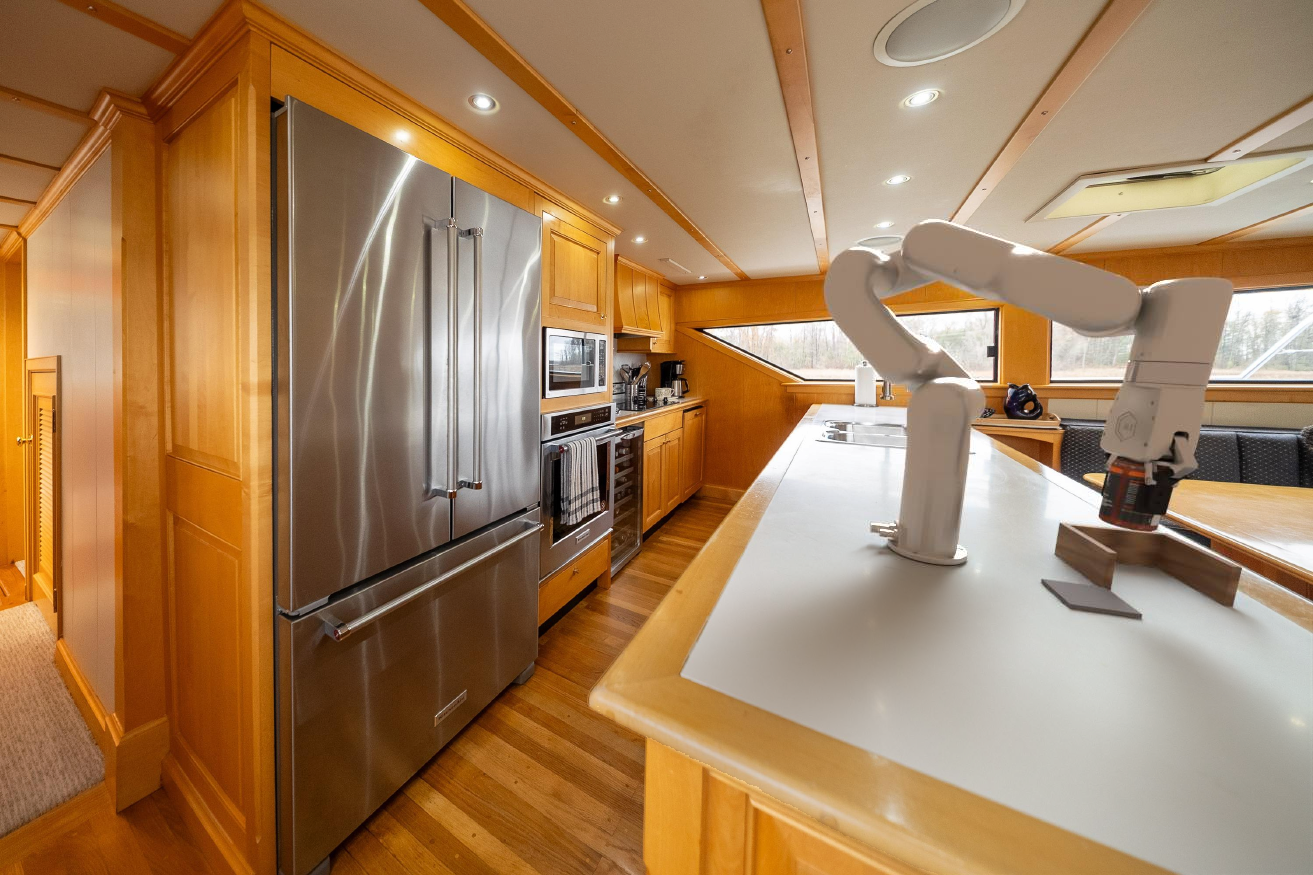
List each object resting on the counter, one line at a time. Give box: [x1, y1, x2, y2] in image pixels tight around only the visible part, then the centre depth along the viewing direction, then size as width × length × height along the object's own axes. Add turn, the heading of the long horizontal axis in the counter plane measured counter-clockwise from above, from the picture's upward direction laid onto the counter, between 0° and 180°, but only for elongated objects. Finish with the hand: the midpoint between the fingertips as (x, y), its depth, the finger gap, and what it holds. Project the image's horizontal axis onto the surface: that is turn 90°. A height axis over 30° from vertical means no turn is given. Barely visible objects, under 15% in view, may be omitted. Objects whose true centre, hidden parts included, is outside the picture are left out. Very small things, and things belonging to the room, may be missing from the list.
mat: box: [1040, 578, 1143, 619], centre depth 66 cm, size 8×8×1 cm
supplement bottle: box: [1098, 457, 1167, 532], centre depth 62 cm, size 6×6×11 cm
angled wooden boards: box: [1054, 522, 1243, 608], centre depth 73 cm, size 15×14×6 cm
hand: (1131, 504), depth 63 cm, fingers closed on supplement bottle, 5 cm apart
